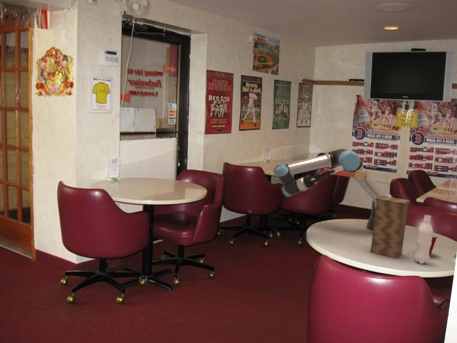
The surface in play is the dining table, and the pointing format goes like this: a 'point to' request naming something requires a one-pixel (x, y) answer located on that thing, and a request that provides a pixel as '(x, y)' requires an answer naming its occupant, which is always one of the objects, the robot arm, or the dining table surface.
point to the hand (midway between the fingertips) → (341, 168)
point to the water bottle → (424, 241)
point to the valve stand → (389, 226)
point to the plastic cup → (432, 242)
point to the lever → (350, 173)
